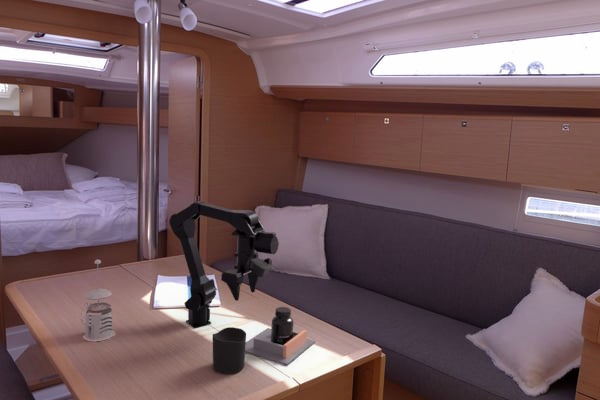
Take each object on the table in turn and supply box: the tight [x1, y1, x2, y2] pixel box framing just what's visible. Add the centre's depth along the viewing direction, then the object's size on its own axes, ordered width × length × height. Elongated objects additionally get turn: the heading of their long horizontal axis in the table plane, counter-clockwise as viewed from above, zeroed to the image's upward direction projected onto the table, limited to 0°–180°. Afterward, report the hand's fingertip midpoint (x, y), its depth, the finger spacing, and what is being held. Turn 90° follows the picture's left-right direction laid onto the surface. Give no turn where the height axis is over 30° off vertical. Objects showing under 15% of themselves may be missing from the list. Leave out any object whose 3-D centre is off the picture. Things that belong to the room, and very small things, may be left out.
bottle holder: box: [245, 327, 316, 367], centre depth 150 cm, size 18×18×5 cm
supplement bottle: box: [270, 306, 295, 345], centre depth 149 cm, size 7×7×12 cm
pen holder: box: [212, 326, 247, 376], centre depth 135 cm, size 9×9×10 cm
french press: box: [79, 259, 115, 340], centre depth 150 cm, size 10×12×25 cm
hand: (244, 296), depth 157 cm, fingers open, 9 cm apart
